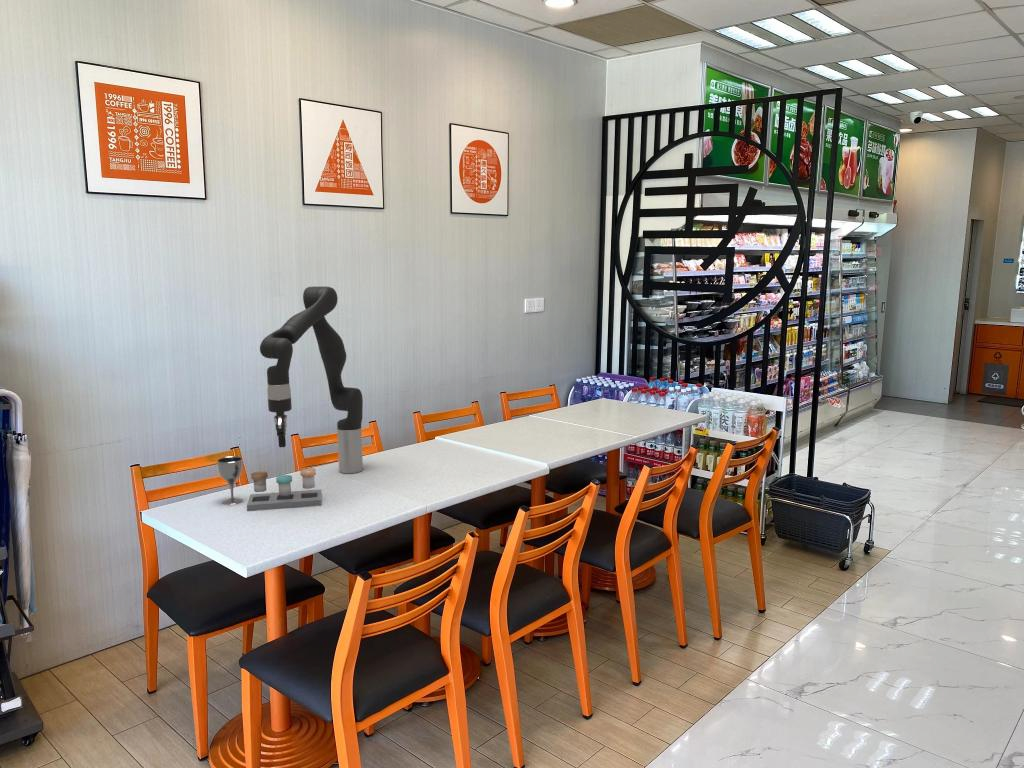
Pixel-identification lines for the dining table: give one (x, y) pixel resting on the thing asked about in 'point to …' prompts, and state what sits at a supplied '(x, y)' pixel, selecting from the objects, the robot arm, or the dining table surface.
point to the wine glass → (230, 475)
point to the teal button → (284, 484)
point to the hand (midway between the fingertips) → (282, 446)
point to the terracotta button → (308, 477)
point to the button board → (284, 500)
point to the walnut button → (259, 481)
